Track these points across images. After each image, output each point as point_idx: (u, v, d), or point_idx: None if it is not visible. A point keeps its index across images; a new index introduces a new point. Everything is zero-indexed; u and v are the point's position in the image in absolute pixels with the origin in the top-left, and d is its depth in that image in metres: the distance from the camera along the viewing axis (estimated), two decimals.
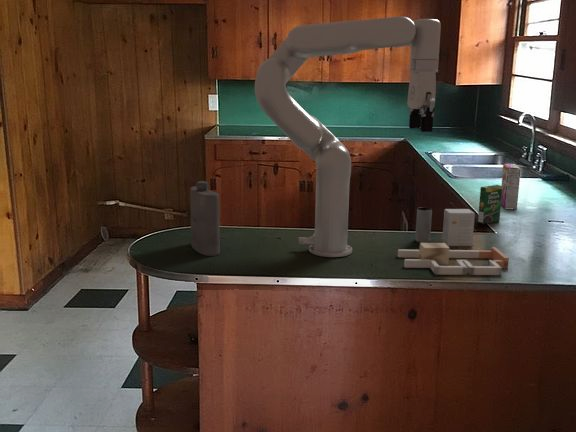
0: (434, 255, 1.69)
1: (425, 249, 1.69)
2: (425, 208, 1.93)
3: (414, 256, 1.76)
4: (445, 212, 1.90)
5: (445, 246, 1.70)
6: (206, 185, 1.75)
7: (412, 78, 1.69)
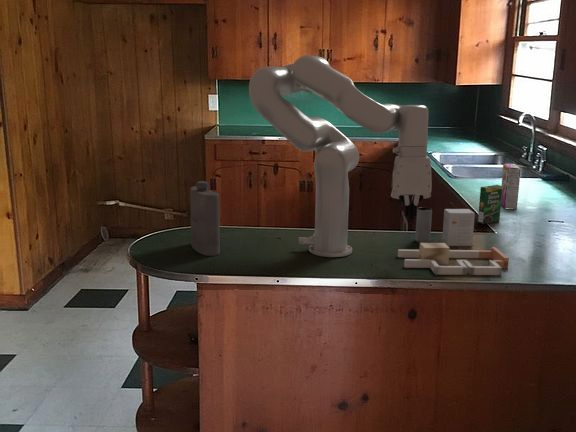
0: (435, 255, 1.69)
1: (425, 249, 1.69)
2: (425, 208, 1.93)
3: (414, 256, 1.76)
4: (445, 212, 1.90)
5: (445, 246, 1.70)
6: (206, 185, 1.75)
7: (410, 165, 1.63)
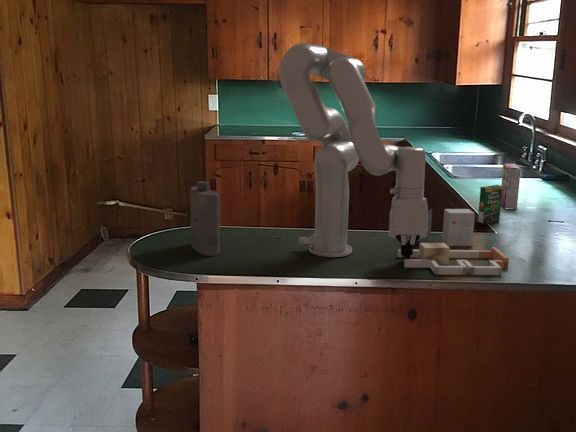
0: (435, 255, 1.69)
1: (425, 249, 1.68)
2: None
3: (414, 256, 1.76)
4: (445, 212, 1.90)
5: (445, 246, 1.70)
6: (206, 185, 1.75)
7: (407, 206, 1.65)
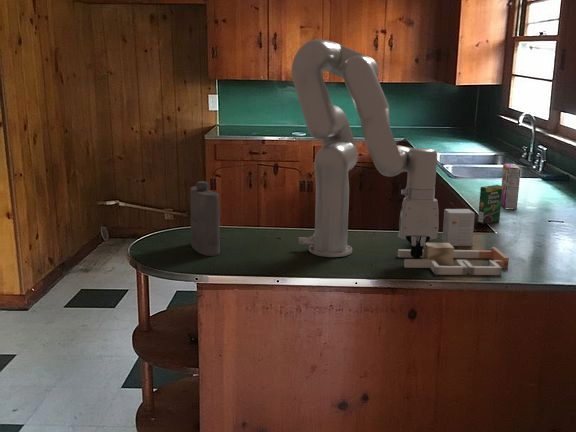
0: (439, 254, 1.69)
1: (430, 249, 1.68)
2: None
3: None
4: (445, 212, 1.90)
5: (449, 246, 1.70)
6: (206, 185, 1.75)
7: (418, 207, 1.66)
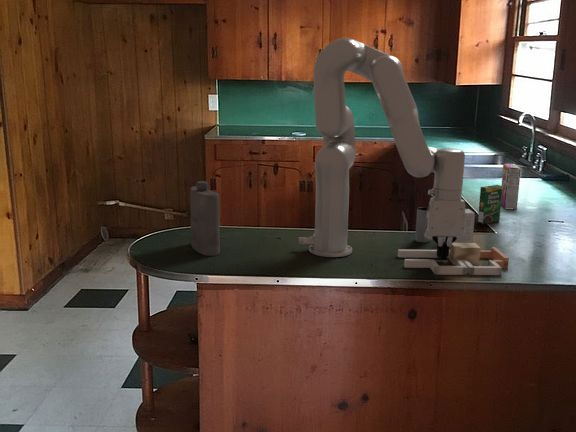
0: (465, 254, 1.69)
1: (456, 249, 1.69)
2: (425, 208, 1.93)
3: (414, 256, 1.76)
4: None
5: (476, 246, 1.70)
6: (206, 185, 1.75)
7: (445, 207, 1.66)
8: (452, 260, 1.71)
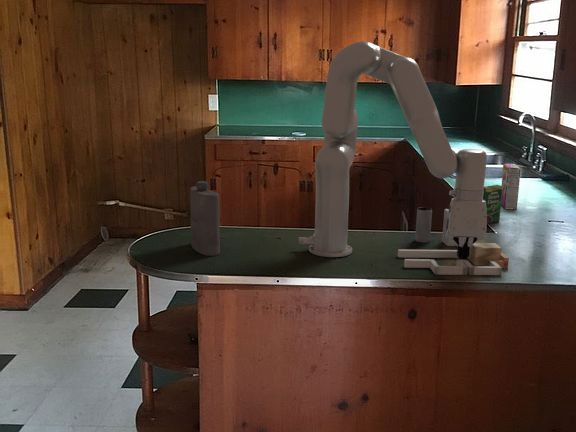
0: (486, 255, 1.69)
1: (477, 249, 1.69)
2: (425, 208, 1.93)
3: (414, 256, 1.76)
4: (445, 212, 1.90)
5: (497, 246, 1.70)
6: (206, 185, 1.75)
7: (467, 208, 1.66)
8: (473, 260, 1.71)
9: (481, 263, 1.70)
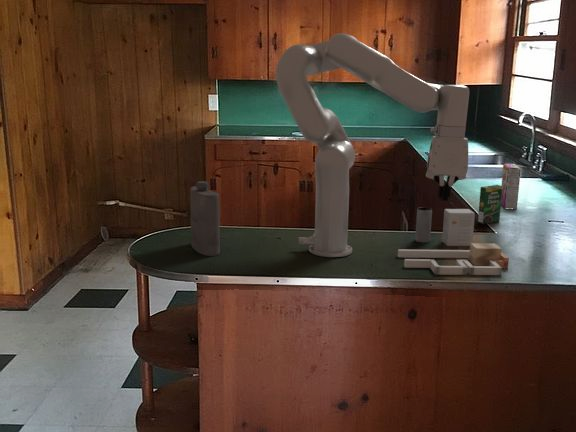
0: (486, 255, 1.69)
1: (477, 250, 1.69)
2: (425, 208, 1.93)
3: (414, 256, 1.76)
4: (445, 212, 1.90)
5: (497, 247, 1.70)
6: (206, 185, 1.75)
7: (448, 145, 1.62)
8: (473, 261, 1.71)
9: (481, 263, 1.70)
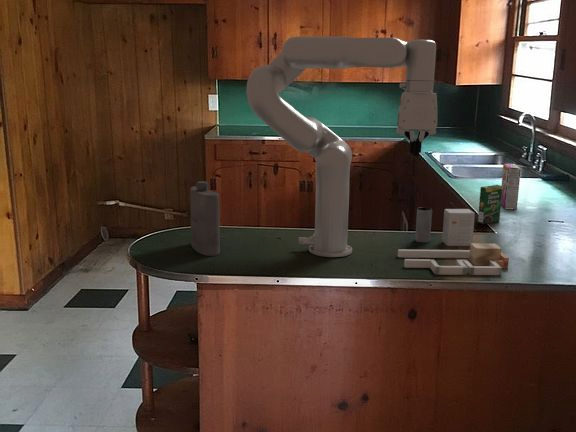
0: (486, 255, 1.69)
1: (477, 250, 1.69)
2: (425, 208, 1.93)
3: (414, 256, 1.76)
4: (445, 212, 1.90)
5: (497, 247, 1.70)
6: (206, 185, 1.75)
7: (416, 100, 1.64)
8: (473, 261, 1.71)
9: (481, 263, 1.70)
